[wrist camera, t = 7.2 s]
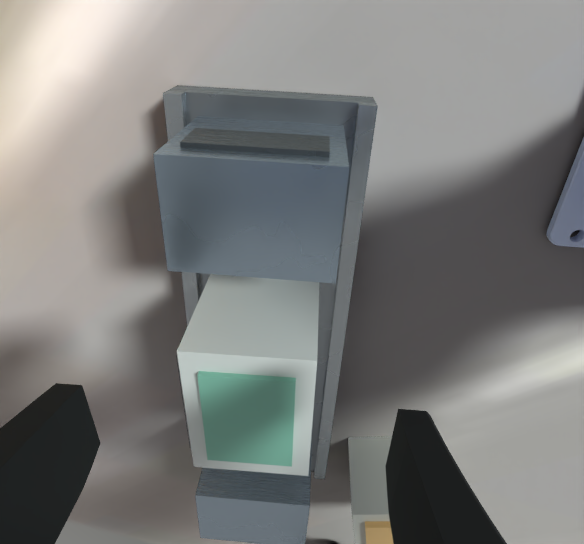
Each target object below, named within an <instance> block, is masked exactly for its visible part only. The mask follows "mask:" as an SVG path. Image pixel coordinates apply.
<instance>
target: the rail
mask: <svg viewBox="0 0 584 544" xmlns="http://www.w3.org/2000/svg"><path fill="white" fill-rule="evenodd" d="M163 98H164V108H165V117H166V127H167V137H168V142H167V143H166V144H164V145H163V146H162V147H161V148H160V149H159V150H157V151H156V152H155V153H154V154H153V156H154V164H155V172H156V180H157V189H158V197H159V205H160V213H161V221H162V229H163V237H164V245H165V254H166V262H167V270H168V271H176V272H182V281H183V291H184V301H185V310H186V320H187V327H188V324H189V322H190V320H191V317H192V315H193V313H194V311H195V308H196V306H197V304H198V301H199V299H200V297H201V294H202V292H203V290H204V288H205V285H206V283H207V281H208V278H209V276H210V274H216V275H229V276H243V277H256V278H269V279H282V280H296V281H309V282H319V316H318V353H317V371H316V384H315V397H314V409H313V422H312V435H311V448H310V461H309V474H308V476H302V475H289V474H277V473H264V472H252V471H239V470H227V469H214V468H203V469H202V472H201V476H200V480H199V483H198V487H197V491H196V495H195V497H196V505H197V513H198V522H199V530H200V538H207V539H217V540H228V541H238V542H248V543H259V544H305V541H306V533H307V524H308V516H309V507H310V481H311V472H314V478H316V479H325V474H326V467H327V460H328V453H329V446H330V439H331V432H332V425H333V418H334V411H335V404H336V397H337V390H338V382H339V375H340V368H341V361H342V354H343V347H344V340H345V333H346V326H347V319H348V312H349V305H350V298H351V290H352V283H353V276H354V269H355V262H356V255H357V248H358V241H359V234H360V227H361V220H362V213H363V206H364V198H365V191H366V184H367V177H368V170H369V163H370V156H371V149H372V142H373V135H374V128H375V121H376V114H377V104H376V102H375V100H374V98H373V97H361V96H344V95H327V94H311V93H294V92H278V91H261V90H244V89H228V88H211V87H195V86H178V85H177V86H175V87H173V88H172V89H170V90H168V91H166V92H164V93H163Z"/></svg>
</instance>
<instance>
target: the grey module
mask: <svg viewBox="0 0 584 544" xmlns="http://www.w3.org/2000/svg"><path fill="white" fill-rule="evenodd" d="M318 316H319V282H309V281H296V280H282V279H269V278H256V277H243V276H229V275H216V274H210V276H209V278H208V281H207V283H206V285H205V288H204V290H203V292H202V294H201V297H200V299H199V301H198V304H197V306H196V308H195V311H194V313H193V315H192V317H191V320H190V322H189V324H188V327H187V329H186V331H185V334H184V336H183V338H182V340H181V343H180V345H179V347H178V350H177V356H176V357H177V364H178V370H179V377H180V384H181V391H182V397H183V404H184V411H185V417H186V424H187V431H188V437H189V444H190V448H191V451H192V458H193V465H194V467H202V468H214V469H227V470H239V471H252V472H264V473H277V474H289V475H302V476H308V474H309V461H310V448H311V435H312V422H313V409H314V397H315V384H316V371H317V353H318Z"/></svg>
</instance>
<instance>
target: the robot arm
mask: <svg viewBox="0 0 584 544" xmlns="http://www.w3.org/2000/svg"><path fill="white" fill-rule="evenodd" d="M576 230H579V233H578V234H577V235H576V236H574V237H570V235H571V234H572V232H574V231H576ZM546 235H547V238H548V239H549V240H550V241H551V242H552V243H553V244H554V245H557V246H568V247H582V248H584V137H583V140H582V143H581V145H580V148H579V150H578V153H577V155H576V158H575V160H574V163H573V166H572V168H571V171H570V173H569V176H568V178H567V181H566V183H565V186H564V189H563V191H562V194H561V196H560V199H559V201H558V204H557V206H556V209H555V211H554V214H553V217H552V219H551V222H550V224H549V227H548V229H547V234H546ZM99 446H100V440H99V437H98V434H97V431H96V428H95V425H94V421H93V418H92V415H91V412H90V409H89V406H88V403H87V400H86V396H85V393H84V390H83V387H82V385H70V384H57V383H56V384H55V385H54V386H52V387H51V388H50V389H49V390H47V391H46V392H45V393H44V394H42V395H41V396H40V397H39V398H37V399H36V400H35V401H34V402H32V403H31V404H30V405H29V406H27V407H26V408H25V409H24V410H23V411H21V412H20V413H19V414H18V415H16V416H15V417H14V418H13V419H11V420H10V421H9V422H8V423H7V424H5V425H4V426H3V427H2V428H0V544H55V542H56V540H57V538H58V536H59V534H60V532H61V530H62V528H63V527H64V525H65V523H66V521H67V519H68V517H69V515H70V513H71V511H72V509H73V507H74V505H75V503H76V502H77V500H78V498H79V496H80V494H81V492H82V490H83V488H84V485H85V483H86V480H87V477H88V475H89V472H90V470H91V467H92V465H93V462H94V459H95V457H96V454H97V451H98V448H99ZM385 467H386V483H387V498H388V511H389V519H390V525H391V531H392V537H393V543H394V544H507V543H506V542H505V541H504V539H503V538H502V536H501V535H500V533H499V532H498V530H497V529H496V527H495V525H494V524H493V522H492V521H491V519H490V518H489V516H488V515H487V513H486V511H485V510H484V508H483V507H482V505H481V504H480V502H479V500H478V499H477V497H476V496H475V494H474V492H473V491H472V489H471V488H470V486H469V484H468V483H467V481H466V479H465V478H464V476H463V474H462V473H461V471H460V469H459V467H458V466H457V464H456V462H455V460H454V459H453V457H452V455H451V453H450V452H449V450H448V448H447V446H446V444H445V443H444V441H443V439H442V437H441V435H440V433H439V431H438V430H437V428H436V426H435V424H434V422H433V420H432V418H431V416H430V415H429V413H428V412H427V411H418V410H405V409H398V413H397V417H396V422H395V426H394V431H393V435H392V439H391V444H390V448H389V453H388V457H387V462H386V466H385Z"/></svg>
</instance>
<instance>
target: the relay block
mask: <svg viewBox="0 0 584 544" xmlns="http://www.w3.org/2000/svg"><path fill="white" fill-rule="evenodd" d="M391 439H392V436H390V437H350V438H348V448H349V468H350V489H351V509H352V522H353V532H354V542H355V544H394V543H393V537H392V531H391V525H390V519H389V511H388V498H387V483H386V467H385V466H386V462H387V457H388V453H389V448H390V444H391Z"/></svg>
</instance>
